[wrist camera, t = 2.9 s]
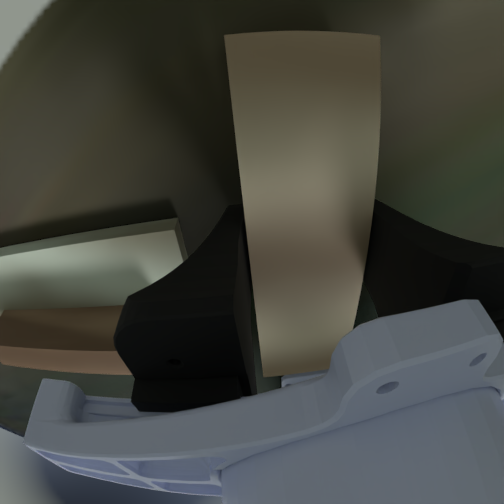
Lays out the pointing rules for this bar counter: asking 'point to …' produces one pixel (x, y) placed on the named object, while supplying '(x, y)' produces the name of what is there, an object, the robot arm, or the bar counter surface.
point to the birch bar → (305, 183)
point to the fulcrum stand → (79, 293)
